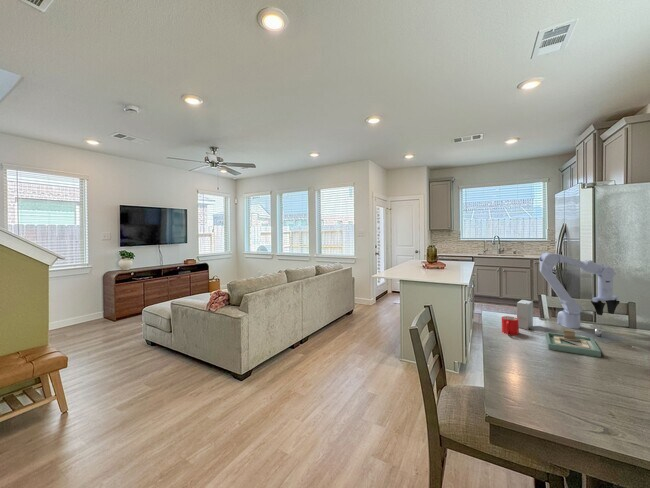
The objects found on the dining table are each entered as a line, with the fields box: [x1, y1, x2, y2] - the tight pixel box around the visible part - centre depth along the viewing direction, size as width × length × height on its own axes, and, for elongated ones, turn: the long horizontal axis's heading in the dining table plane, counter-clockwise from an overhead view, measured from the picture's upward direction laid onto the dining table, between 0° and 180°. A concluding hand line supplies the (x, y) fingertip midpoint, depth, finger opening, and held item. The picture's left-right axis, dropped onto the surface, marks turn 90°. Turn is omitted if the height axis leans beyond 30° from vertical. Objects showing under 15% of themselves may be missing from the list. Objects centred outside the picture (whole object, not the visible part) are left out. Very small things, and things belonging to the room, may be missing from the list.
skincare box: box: [516, 299, 534, 330], centre depth 165 cm, size 8×6×15 cm
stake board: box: [575, 329, 631, 344], centre depth 144 cm, size 15×15×2 cm
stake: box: [589, 325, 607, 337], centre depth 144 cm, size 6×2×4 cm, turn 11°
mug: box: [501, 315, 520, 336], centre depth 156 cm, size 8×12×8 cm, turn 140°
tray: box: [545, 331, 602, 358], centre depth 137 cm, size 18×18×2 cm
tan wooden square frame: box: [554, 328, 591, 349], centre depth 138 cm, size 12×12×5 cm
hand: (605, 314), depth 153 cm, fingers open, 7 cm apart
